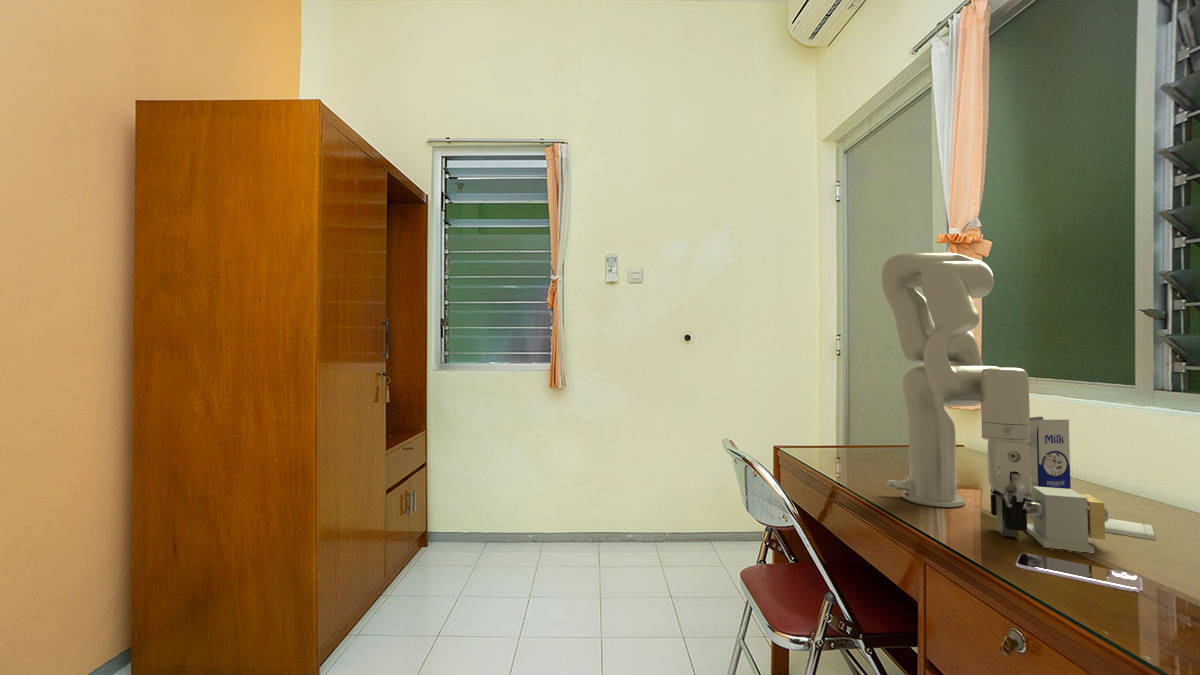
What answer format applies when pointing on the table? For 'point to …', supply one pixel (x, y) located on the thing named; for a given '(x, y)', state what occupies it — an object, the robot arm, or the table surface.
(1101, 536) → the spacer
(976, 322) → the robot arm
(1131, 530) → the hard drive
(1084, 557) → the table surface
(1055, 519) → the bearing block
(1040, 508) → the shaft
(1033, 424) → the milk carton
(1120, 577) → the mobile phone
